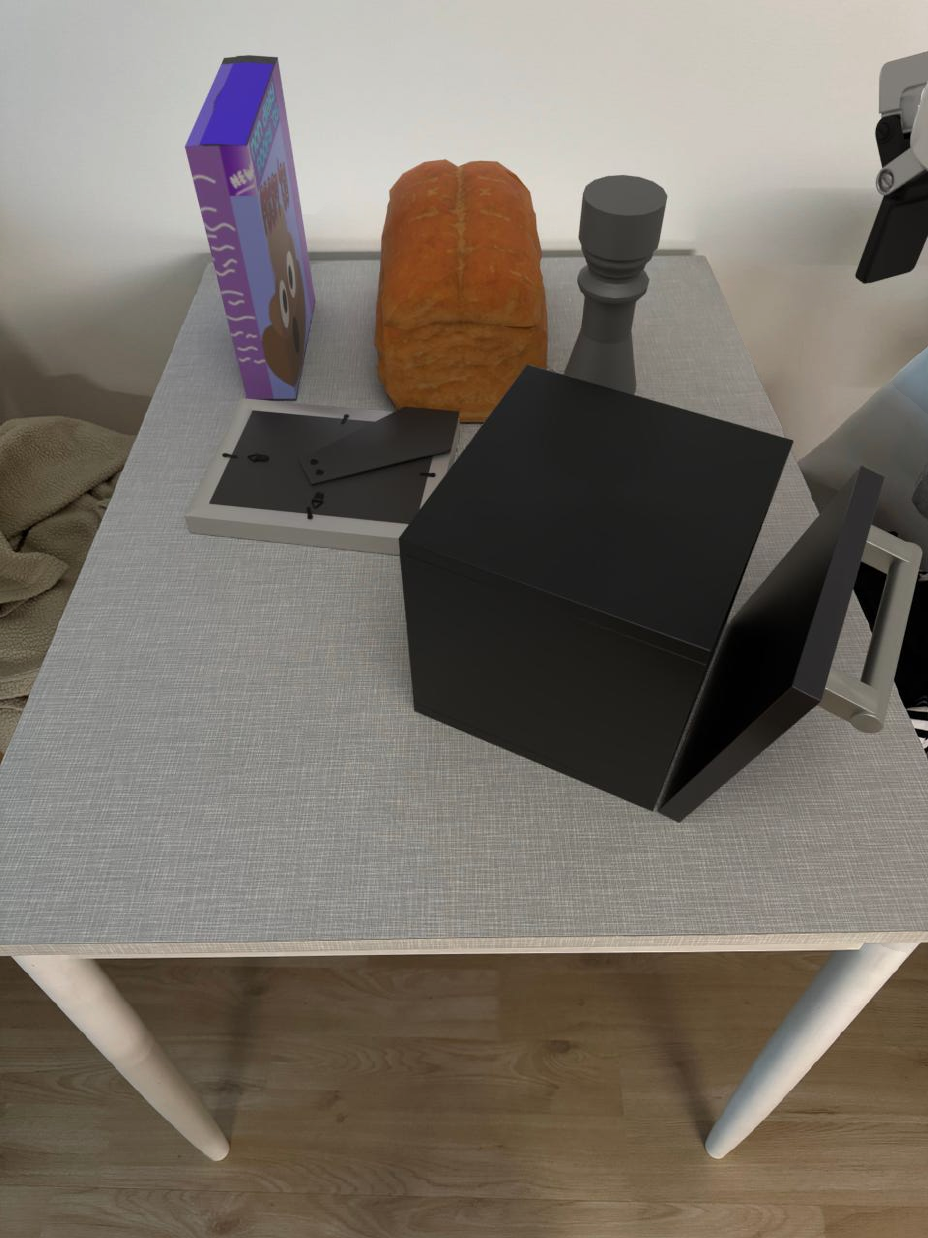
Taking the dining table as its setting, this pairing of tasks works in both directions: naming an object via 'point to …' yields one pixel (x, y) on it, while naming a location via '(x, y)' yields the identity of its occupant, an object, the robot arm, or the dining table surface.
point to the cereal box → (255, 223)
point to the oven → (583, 575)
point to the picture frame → (323, 474)
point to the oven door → (799, 647)
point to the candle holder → (614, 275)
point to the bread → (459, 288)
